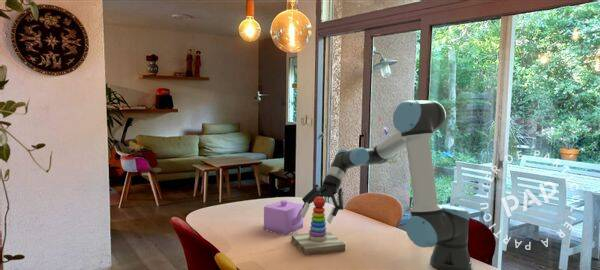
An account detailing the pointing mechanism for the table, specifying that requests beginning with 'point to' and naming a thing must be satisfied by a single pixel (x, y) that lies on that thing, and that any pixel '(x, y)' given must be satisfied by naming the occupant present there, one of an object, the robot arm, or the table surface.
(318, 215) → the stacking toy
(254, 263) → the table surface
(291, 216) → the teapot
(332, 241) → the wooden square board
